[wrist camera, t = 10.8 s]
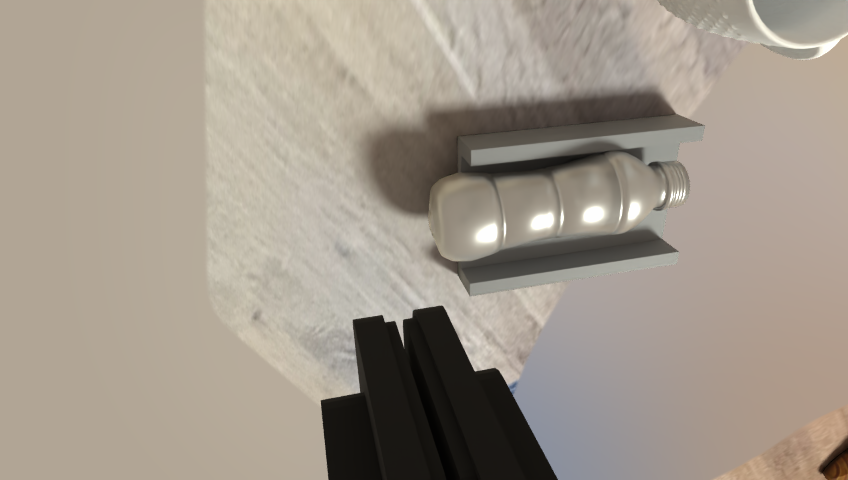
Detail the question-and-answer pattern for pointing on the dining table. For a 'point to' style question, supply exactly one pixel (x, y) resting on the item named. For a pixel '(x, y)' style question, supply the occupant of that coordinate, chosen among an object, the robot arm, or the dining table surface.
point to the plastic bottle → (550, 202)
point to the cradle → (574, 252)
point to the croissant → (837, 468)
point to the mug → (770, 22)
